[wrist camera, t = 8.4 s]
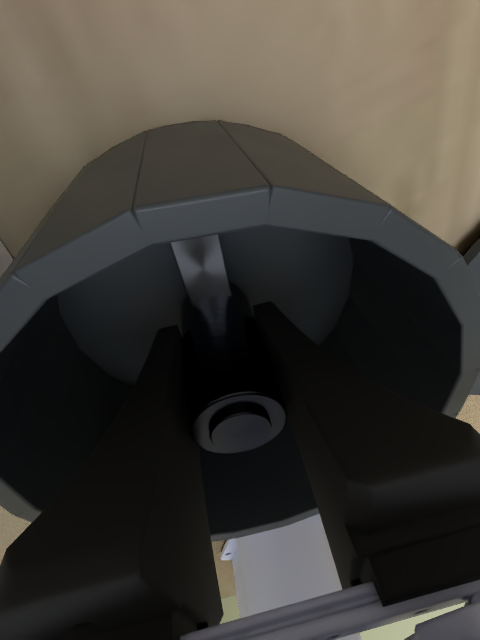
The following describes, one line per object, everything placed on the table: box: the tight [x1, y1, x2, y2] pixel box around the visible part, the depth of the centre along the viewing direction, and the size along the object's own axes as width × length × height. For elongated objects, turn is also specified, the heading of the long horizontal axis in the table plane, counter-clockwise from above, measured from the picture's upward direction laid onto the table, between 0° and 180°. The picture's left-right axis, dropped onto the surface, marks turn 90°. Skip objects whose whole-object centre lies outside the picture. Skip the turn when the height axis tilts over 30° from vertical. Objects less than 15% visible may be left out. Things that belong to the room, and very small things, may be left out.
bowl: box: [0, 120, 480, 542], centre depth 11 cm, size 12×12×6 cm
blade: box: [170, 234, 288, 453], centre depth 10 cm, size 8×3×5 cm, turn 10°
